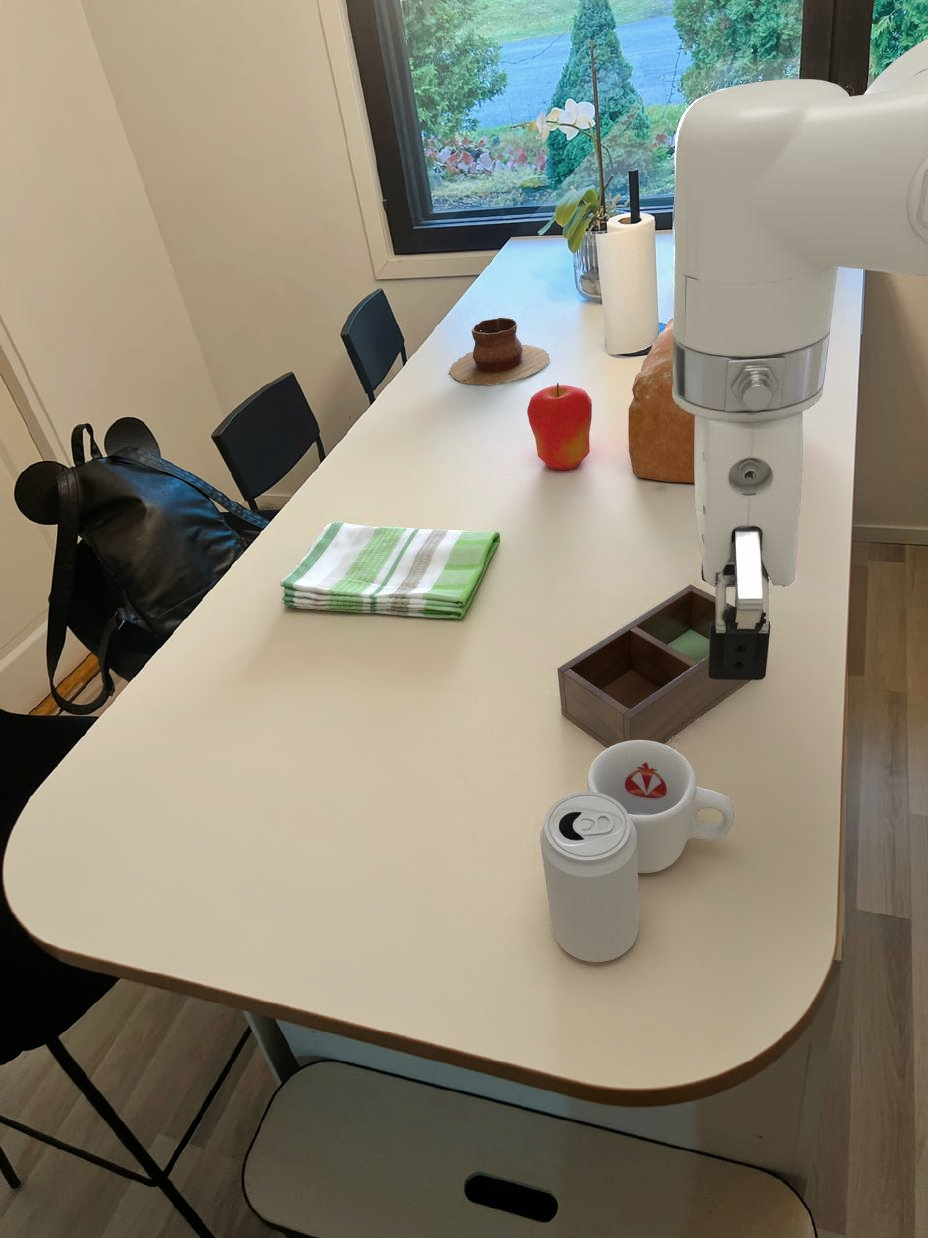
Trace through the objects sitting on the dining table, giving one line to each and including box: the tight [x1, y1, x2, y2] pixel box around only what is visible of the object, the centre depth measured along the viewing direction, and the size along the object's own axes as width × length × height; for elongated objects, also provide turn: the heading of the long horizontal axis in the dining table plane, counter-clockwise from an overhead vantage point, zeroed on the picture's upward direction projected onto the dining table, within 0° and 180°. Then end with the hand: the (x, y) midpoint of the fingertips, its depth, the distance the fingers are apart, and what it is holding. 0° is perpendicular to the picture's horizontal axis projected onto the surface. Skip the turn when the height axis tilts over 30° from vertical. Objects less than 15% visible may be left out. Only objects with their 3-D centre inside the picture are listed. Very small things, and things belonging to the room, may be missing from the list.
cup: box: [586, 740, 735, 874], centre depth 67 cm, size 11×8×8 cm
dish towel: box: [279, 521, 501, 619], centre depth 105 cm, size 17×23×4 cm
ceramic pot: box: [448, 317, 551, 386], centre depth 152 cm, size 18×18×7 cm
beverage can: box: [539, 791, 640, 963], centre depth 61 cm, size 6×6×12 cm
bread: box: [627, 317, 695, 483], centre depth 117 cm, size 14×26×16 cm, turn 158°
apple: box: [526, 382, 593, 471], centre depth 118 cm, size 9×8×12 cm
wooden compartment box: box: [556, 584, 751, 749], centre depth 81 cm, size 9×18×6 cm, turn 127°
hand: (730, 624), depth 55 cm, fingers open, 9 cm apart
